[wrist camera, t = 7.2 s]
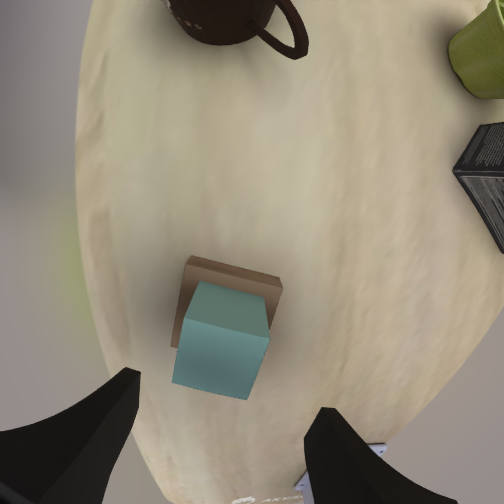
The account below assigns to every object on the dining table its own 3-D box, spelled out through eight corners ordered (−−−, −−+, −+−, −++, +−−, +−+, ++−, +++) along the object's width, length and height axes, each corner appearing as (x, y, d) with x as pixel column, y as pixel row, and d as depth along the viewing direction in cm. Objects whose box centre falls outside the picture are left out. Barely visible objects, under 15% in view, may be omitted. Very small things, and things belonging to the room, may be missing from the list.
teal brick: (246, 350, 19) (246, 400, 14) (187, 335, 19) (171, 382, 14) (264, 297, 18) (270, 339, 13) (199, 280, 18) (184, 317, 13)
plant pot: (494, 42, 15) (550, 22, 6) (509, 128, 17) (576, 125, 9) (423, 7, 15) (478, -35, 6) (440, 102, 17) (518, 80, 8)
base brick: (255, 351, 21) (256, 366, 19) (176, 332, 21) (170, 346, 19) (279, 277, 20) (282, 288, 18) (191, 255, 19) (185, 263, 17)
